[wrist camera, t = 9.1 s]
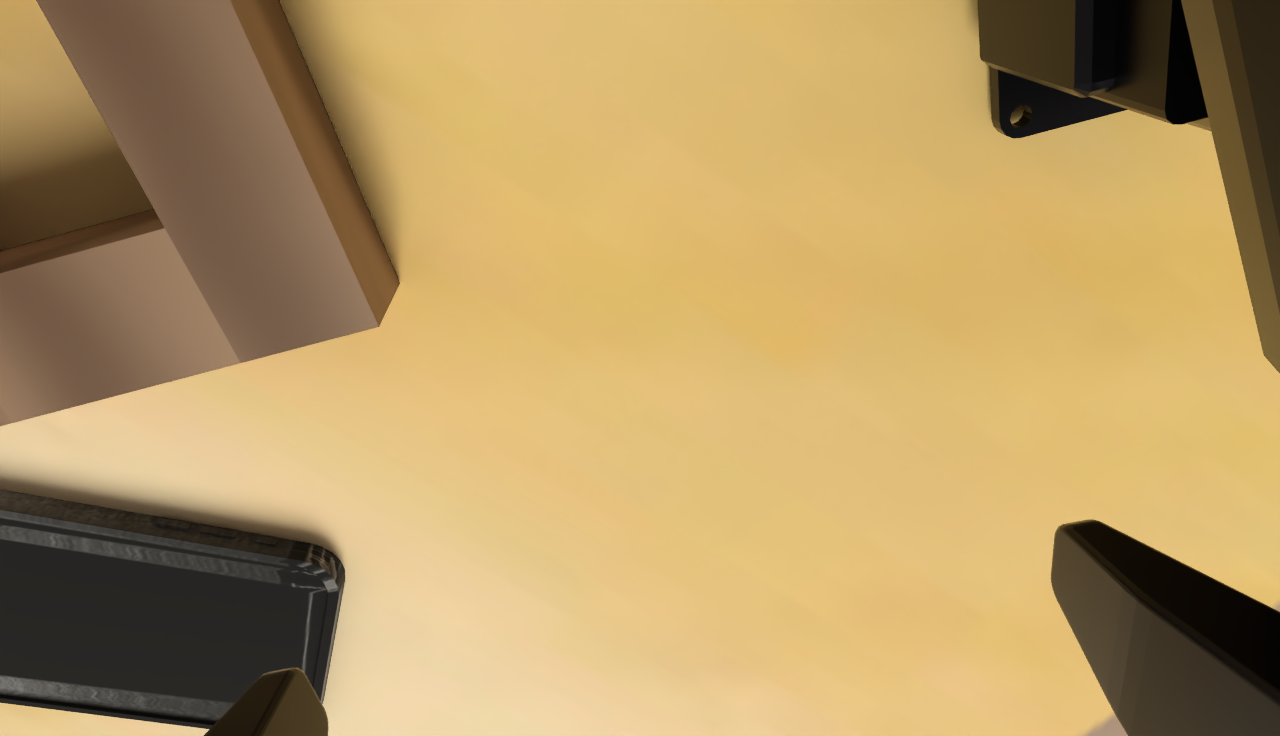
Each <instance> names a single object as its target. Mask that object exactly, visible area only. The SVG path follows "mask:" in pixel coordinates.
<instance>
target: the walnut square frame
mask: <svg viewBox="0 0 1280 736" xmlns="http://www.w3.org/2000/svg"><path fill="white" fill-rule="evenodd" d="M36 1H37V2H38V4H39V6H40V8H41V9H42V11H43V13H44V15H45V17H46V18H47V20H48V22H49V24H50V25H51V27H52V29H53V31H54V33H55V34H56V36H57V38H58V40H59V41H60V43H61V45H62V47H63V48H64V50H65V52H66V54H67V56H68V57H69V59H70V61H71V63H72V64H73V66H74V68H75V70H76V72H77V73H78V75H79V77H80V79H81V80H82V82H83V84H84V86H85V88H86V89H87V91H88V93H89V95H90V96H91V98H92V100H93V102H94V104H95V105H96V107H97V109H98V111H99V112H100V114H101V116H102V118H103V119H104V121H105V123H106V125H107V127H108V128H109V130H110V132H111V134H112V135H113V137H114V139H115V141H116V143H117V144H118V146H119V148H120V150H121V151H122V153H123V155H124V157H125V159H126V160H127V162H128V164H129V166H130V167H131V169H132V171H133V173H134V175H135V176H136V178H137V180H138V182H139V183H140V185H141V187H142V189H143V191H144V192H145V194H146V196H147V198H148V199H149V201H150V203H151V205H152V206H153V208H154V209H153V210H149V211H146V212H142V213H138V214H135V215H131V216H127V217H124V218H120V219H116V220H113V221H109V222H106V223H102V224H98V225H95V226H91V227H87V228H84V229H80V230H76V231H73V232H69V233H66V234H62V235H58V236H55V237H51V238H47V239H44V240H40V241H36V242H33V243H29V244H26V245H22V246H18V247H15V248H11V249H7V250H4V251H0V426H3V425H6V424H10V423H14V422H18V421H22V420H25V419H29V418H33V417H37V416H41V415H44V414H48V413H52V412H56V411H60V410H64V409H67V408H71V407H75V406H79V405H83V404H86V403H90V402H94V401H98V400H102V399H105V398H109V397H113V396H117V395H121V394H124V393H128V392H132V391H136V390H140V389H143V388H147V387H151V386H155V385H159V384H163V383H166V382H170V381H174V380H178V379H182V378H185V377H189V376H193V375H197V374H201V373H204V372H208V371H212V370H216V369H220V368H223V367H227V366H231V365H235V364H239V363H242V362H246V361H250V360H254V359H258V358H262V357H265V356H269V355H273V354H277V353H281V352H284V351H288V350H292V349H296V348H300V347H303V346H307V345H311V344H315V343H319V342H322V341H326V340H330V339H334V338H338V337H341V336H345V335H349V334H353V333H357V332H361V331H364V330H368V329H372V328H376V327H379V325H380V323H381V321H382V319H383V317H384V315H385V313H386V311H387V309H388V307H389V305H390V303H391V301H392V298H393V296H394V294H395V292H396V290H397V288H398V286H399V284H400V282H399V280H398V278H397V275H396V273H395V271H394V268H393V266H392V264H391V261H390V259H389V257H388V254H387V252H386V250H385V247H384V245H383V243H382V240H381V238H380V236H379V233H378V231H377V229H376V226H375V224H374V222H373V219H372V217H371V215H370V212H369V210H368V208H367V205H366V203H365V201H364V198H363V196H362V194H361V191H360V189H359V187H358V184H357V182H356V180H355V177H354V175H353V173H352V170H351V168H350V166H349V163H348V161H347V159H346V156H345V154H344V152H343V149H342V147H341V145H340V143H339V140H338V138H337V136H336V133H335V131H334V129H333V126H332V124H331V122H330V119H329V117H328V115H327V112H326V110H325V108H324V105H323V103H322V101H321V98H320V96H319V94H318V91H317V89H316V87H315V84H314V82H313V80H312V77H311V75H310V73H309V70H308V68H307V66H306V63H305V61H304V59H303V56H302V54H301V52H300V49H299V47H298V45H297V42H296V40H295V38H294V35H293V33H292V31H291V28H290V26H289V24H288V21H287V19H286V17H285V14H284V12H283V10H282V7H281V5H280V3H279V0H36Z"/></svg>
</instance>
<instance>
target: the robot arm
mask: <svg viewBox="0 0 1280 736" xmlns="http://www.w3.org/2000/svg"><path fill="white" fill-rule="evenodd" d="M978 16H979V41H980V58H981V60H982V61H984V62H985V63H986V64H988V65H989V66H990V86H991V114H992V122H993V126H994V127H995V128H996V130H997V131H998V132H1000V133H1002V134H1004V135H1006V136H1009V137H1011V138H1022V137H1026V136H1030V135H1033V134H1037V133H1041V132H1045V131H1048V130H1052V129H1056V128H1060V127H1064V126H1067V125H1071V124H1075V123H1079V122H1083V121H1086V120H1090V119H1094V118H1098V117H1101V116H1105V115H1109V114H1113V113H1117V112H1120V111H1124V110H1131V111H1134V112H1137V113H1140V114H1143V115H1146V116H1149V117H1152V118H1155V119H1158V120H1161V121H1164V122H1167V123H1171V124H1185V123H1187V124H1190V125H1193V126H1196V127H1199V128H1202V129H1206V130H1209V131H1212V135H1213V139H1214V144H1215V148H1216V152H1217V156H1218V161H1219V165H1220V169H1221V174H1222V178H1223V182H1224V186H1225V191H1226V195H1227V199H1228V204H1229V208H1230V212H1231V216H1232V221H1233V225H1234V229H1235V234H1236V238H1237V242H1238V246H1239V251H1240V255H1241V259H1242V264H1243V268H1244V272H1245V276H1246V281H1247V285H1248V289H1249V294H1250V298H1251V302H1252V306H1253V311H1254V315H1255V319H1256V324H1257V328H1258V332H1259V337H1260V341H1261V345H1262V349H1263V354H1264V356H1265V357H1266V358H1267V359H1268V361H1269V362H1270V363H1271V364H1272V365H1273V366H1274V367H1275V368H1276V370H1277V371H1278V372H1279V373H1280V0H978ZM1020 105H1022V106H1023V109H1024V111H1023V115H1022V117H1021V118H1020V120H1019V121H1017V122H1016V123H1014V124H1011V122H1010V116H1011V113H1012V112H1013V110H1014V109H1015V108H1016V107H1018V106H1020ZM1051 583H1052V587H1053V591H1054V594H1055V596H1056V599H1057V601H1058V603H1059V605H1060V607H1061V609H1062V611H1063V613H1064V615H1065V617H1066V619H1067V621H1068V623H1069V625H1070V626H1071V628H1072V630H1073V632H1074V634H1075V636H1076V638H1077V640H1078V642H1079V644H1080V646H1081V648H1082V650H1083V652H1084V654H1085V656H1086V658H1087V660H1088V662H1089V664H1090V666H1091V668H1092V670H1093V672H1094V674H1095V676H1096V678H1097V680H1098V682H1099V684H1100V686H1101V688H1102V690H1103V692H1104V694H1105V696H1106V698H1107V700H1108V702H1109V703H1110V705H1111V707H1112V709H1113V711H1114V713H1115V715H1116V717H1117V718H1118V720H1119V721H1120V723H1121V724H1122V726H1123V728H1124V730H1125V731H1126V733H1127V735H1128V736H1280V612H1279V611H1277V610H1275V609H1273V608H1271V607H1269V606H1267V605H1265V604H1263V603H1261V602H1259V601H1257V600H1255V599H1253V598H1251V597H1249V596H1247V595H1245V594H1243V593H1241V592H1239V591H1237V590H1235V589H1233V588H1231V587H1229V586H1227V585H1225V584H1223V583H1221V582H1219V581H1217V580H1215V579H1213V578H1211V577H1209V576H1207V575H1205V574H1203V573H1201V572H1200V571H1198V570H1196V569H1194V568H1192V567H1190V566H1188V565H1186V564H1184V563H1182V562H1180V561H1178V560H1176V559H1174V558H1172V557H1170V556H1168V555H1166V554H1164V553H1162V552H1160V551H1158V550H1156V549H1154V548H1152V547H1150V546H1148V545H1146V544H1144V543H1142V542H1140V541H1138V540H1136V539H1134V538H1132V537H1130V536H1128V535H1126V534H1124V533H1122V532H1120V531H1118V530H1116V529H1114V528H1112V527H1110V526H1108V525H1106V524H1104V523H1102V522H1100V521H1097V520H1084V521H1078V522H1073V523H1067V524H1063V525H1061V526H1059V527H1058V528H1057V530H1056V532H1055V538H1054V548H1053V559H1052V570H1051ZM204 736H328V719H327V715H326V711H325V709H324V707H323V705H322V703H321V702H320V700H319V698H318V696H317V694H316V693H315V691H314V689H313V687H312V685H311V683H310V682H309V680H308V678H307V676H306V675H305V673H304V672H303V671H302V670H301V669H299V668H294V667H293V668H288V669H282V670H277V671H272V672H268V673H265V674H263V675H262V676H260V677H259V678H258V679H257V680H256V681H255V682H254V683H253V684H252V685H251V686H250V687H249V689H248V690H247V691H246V692H245V693H244V694H243V695H242V696H241V697H240V698H239V699H238V700H237V701H236V702H235V703H234V704H233V705H232V706H231V708H230V709H229V710H228V711H227V712H226V713H225V714H224V715H223V716H222V717H221V718H220V719H219V720H218V721H217V722H216V723H215V724H214V725H213V727H212V728H211V729H210V730H209V731H208V732H207V733H206V734H205V735H204Z"/></svg>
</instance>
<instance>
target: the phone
mask: <svg viewBox="0 0 1280 736" xmlns="http://www.w3.org/2000/svg"><path fill="white" fill-rule="evenodd" d="M344 583H345V569H344V567H343V565H342V563H341V561H340V560H339V559H338V558H337V557H336V556H335V555H334V554H333V553H332V552H330V551H329V550H327V549H325V548H323V547H321V546H318V545H314V544H311V543H306V542H300V541H295V540H289V539H283V538H277V537H271V536H266V535H260V534H254V533H248V532H243V531H237V530H231V529H225V528H219V527H214V526H208V525H202V524H196V523H191V522H185V521H179V520H173V519H167V518H162V517H156V516H150V515H144V514H139V513H133V512H127V511H121V510H116V509H110V508H104V507H98V506H92V505H87V504H81V503H75V502H69V501H64V500H58V499H52V498H46V497H40V496H35V495H29V494H23V493H17V492H12V491H6V490H0V703H8V704H16V705H24V706H32V707H40V708H48V709H56V710H63V711H71V712H79V713H87V714H95V715H103V716H111V717H119V718H127V719H134V720H142V721H150V722H158V723H166V724H174V725H182V726H190V727H197V728H205V729H211V728H212V727H213V725H214V724H215V723H216V722H217V721H218V720H219V719H220V718H221V717H222V716H223V715H224V714H225V713H226V712H227V711H228V710H229V709H230V708H231V706H232V705H233V704H234V703H235V702H236V701H237V700H238V699H239V698H240V697H241V696H242V695H243V694H244V693H245V692H246V691H247V690H248V689H249V687H250V686H251V685H252V684H253V683H254V682H255V681H256V680H257V679H258V678H259V677H260V676H262V675H263V674H265V673H268V672H272V671H277V670H282V669H288V668H293V667H294V668H299V669H301V670H302V671H303V672H304V673H305V675H306V676H307V678H308V680H309V682H310V683H311V685H312V687H313V689H314V691H315V693H316V694H317V696H318V698H319V700H320V702H321V703H323V700H324V695H325V689H326V684H327V678H328V673H329V667H330V661H331V656H332V650H333V645H334V639H335V633H336V628H337V622H338V617H339V611H340V605H341V600H342V594H343V588H344Z"/></svg>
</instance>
